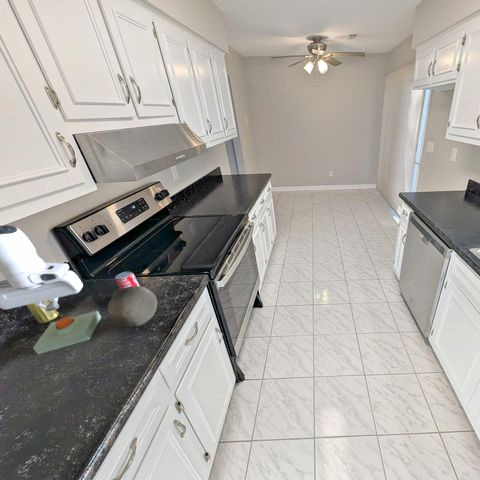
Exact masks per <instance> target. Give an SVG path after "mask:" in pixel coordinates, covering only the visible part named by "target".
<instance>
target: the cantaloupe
mask: <svg viewBox="0 0 480 480" xmlns="http://www.w3.org/2000/svg"><path fill="white" fill-rule="evenodd" d="M157 307H158V299H157V296H156V295H155V294H154V292H153V291H151V290H150V289H149V288H147V287H144V286H141V285H139V286H131V287H126V288H124V289H122V290H120V289H119V291H117V292H116V293H115V294H114V295H112V297H111V298H110V299H109V302H108V305H107V315H108V317H109V319H111V320H112V322H113V323H114V324H116V325H118V326H119V327H122V328H127V329H128V328H129V329H131V328H136V327H141V326H143V325H144V324H146V323H148V322H149V321H150V320H151V319H152V318H153V317H154V315H155V313H156V312H157V310H158V309H157Z"/></svg>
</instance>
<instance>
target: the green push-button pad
mask: <svg viewBox="0 0 480 480" xmlns="http://www.w3.org/2000/svg"><path fill="white" fill-rule="evenodd" d="M69 317H70V318H71V319H72V321H73V322H72V324H70V325H69V326H67V327H65V328H62V329H58V328H57V327H56V325H55V323H56V322H57V321H58V320H56V321H52V322H50V324H49V325H48V327H47V328H46V330H45V331H44V332H43V333H42V334H41V336H40V337H39V339H38V340H37V341H36V343H35V344H34V345H33V347H32V349H33V350H34V351H35V352H36V354H37V355H40V354H44V353H49V352H51V351H55V350H58V349H62V348H65V347H68V346H72V345H76V344H79V343H83V342H86V341H89V340H90V339H91V337H92V336H93V333H94V331H95V330H96V328H97V326H98V324H99V322H100V320H101V318H102V316H101V314H100V313H99V311H98V310H94V311H90V312H87V313H83V314H79V315H76V316H69Z"/></svg>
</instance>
